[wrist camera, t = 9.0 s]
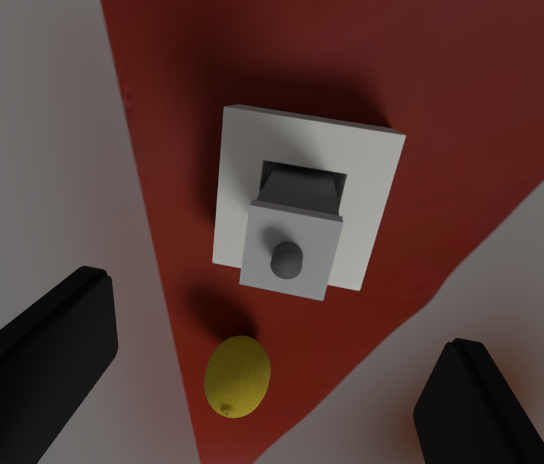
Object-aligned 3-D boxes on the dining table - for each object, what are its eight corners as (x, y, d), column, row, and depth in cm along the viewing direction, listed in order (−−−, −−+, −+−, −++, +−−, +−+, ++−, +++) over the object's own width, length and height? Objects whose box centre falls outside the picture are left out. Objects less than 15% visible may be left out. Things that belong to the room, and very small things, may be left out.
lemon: (278, 362, 33) (266, 440, 26) (225, 362, 34) (199, 437, 26) (271, 317, 31) (256, 387, 23) (215, 318, 32) (184, 386, 24)
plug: (276, 160, 24) (244, 212, 14) (334, 171, 23) (344, 231, 13) (268, 214, 25) (234, 295, 15) (321, 224, 25) (323, 313, 15)
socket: (238, 104, 24) (223, 106, 20) (392, 128, 23) (405, 135, 19) (226, 240, 28) (212, 262, 24) (354, 264, 27) (359, 290, 24)
